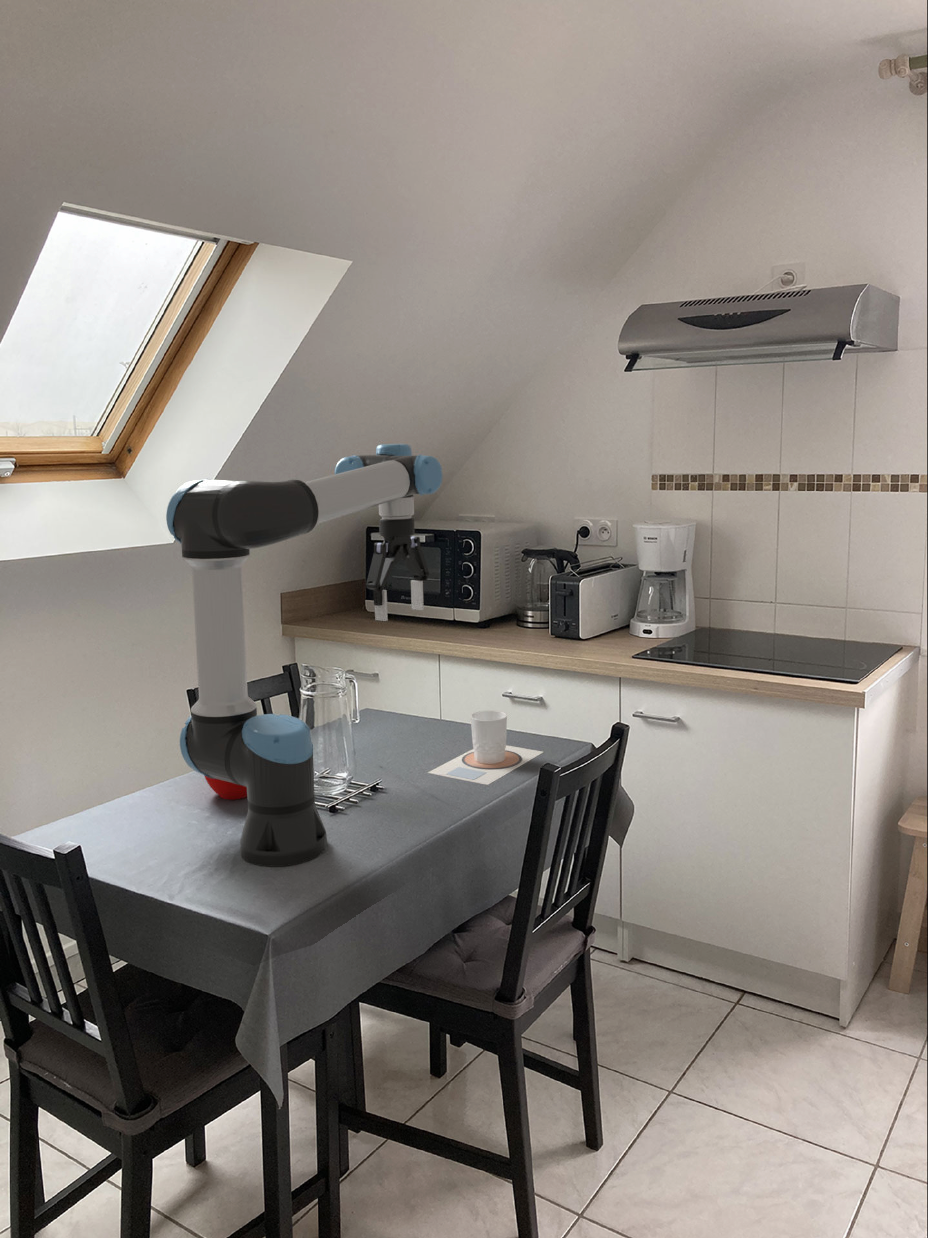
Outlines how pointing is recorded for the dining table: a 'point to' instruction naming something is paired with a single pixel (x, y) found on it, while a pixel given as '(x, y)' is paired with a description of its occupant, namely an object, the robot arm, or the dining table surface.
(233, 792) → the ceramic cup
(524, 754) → the white flat rectangular sheet
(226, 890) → the dining table surface
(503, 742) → the white cup
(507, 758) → the circle mark
